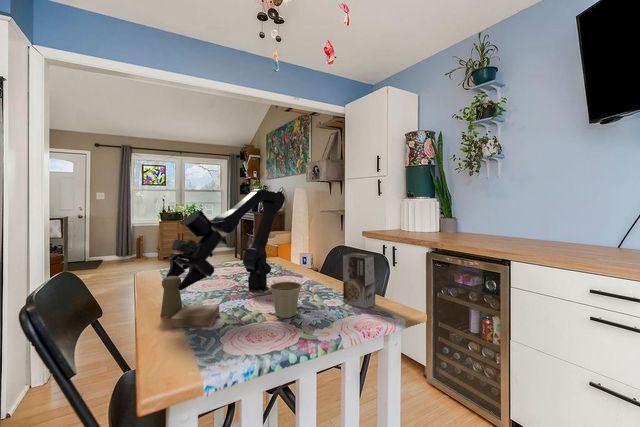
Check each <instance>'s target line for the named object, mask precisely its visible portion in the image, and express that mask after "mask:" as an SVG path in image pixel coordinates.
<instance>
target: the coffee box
mask: <svg viewBox="0 0 640 427" xmlns="http://www.w3.org/2000/svg"><path fill="white" fill-rule="evenodd" d="M342 262H343V263H342V269H343V270H342V276H343V277H342V283H343V284H342V285H343V286H342V288H343V290H342V295H343V298H342V300H343V301H342V302H343V303H345V304H347V305H352V306H355V307H359V308H362V309H367V308H369V307H371V306H374V305H376V255H374V254H365V253H358V252H351V253H348V254H343V255H342Z"/></svg>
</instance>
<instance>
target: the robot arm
mask: <svg viewBox="0 0 640 427" xmlns="http://www.w3.org/2000/svg"><path fill="white" fill-rule="evenodd" d="M285 200H286V196H285V195H284V193H283V192H282V191H279V190H278V191H277V190H275V191H270V190H265V189H263V188H256V189H252V190H251V191H250V193H248V194H247V195H246V196H245V197H243V199H241V200H240V201H239V202H237V203H236V205H234V206H233V207H232V208H231V209H229V210H227V211H224V212H221V213H220V214H218V215H216V216H215V217H213V219H209V218H208V217H207V216H206V215H205V213H204V212H203V210H196V211H195V212H193V213H192V214H190V215H188V216H186V218H184V220H183V222H182V225H183V226H184V227H185V228H186V229H187V230H188V231H189V232H190V233H191V234H192V235H193V236H194V237H196V238H199V237H200V238H199V240H198V241H197V242H196V240H192V239H187V240H186V241H185V240H181V239H174V241H173V243H172V245H171V248H170V249H171V250H173V251H178V252H172V253H170V255H169V256H168V258H167V259H168V262H169V265H170V266H169V270H168V272H167V274H166V276H165V278H166V277H169V276H178V277H180V276H181V275H183V274H184V273H185V272H186V270H187V269H188V272H187V273H186V275H185V277H184V278H183V279H182V280H181V284H180V286H179V287H178V289H179V290H180V291H183V290H185V289H186V288H188V287H191V285H194V284H195V283H198V282H200V281H202V280H203V279H207V278H208V277H212V275H213V274H214V273H215V266H213V265H212V264H211V263H210V262H209V261H208V260H207V259H208V258H209V257H210V258H212V257H213V256H214V253H213V252H214V251H215V249H216V248H218V246H219V245H220V244H222V245H227V244H228V242H227V236H226V235H222V234H224V233H225V234H230V233H233V232H234V230H236V228H237V227H238V225H239V224H240V221H241V219H242V218H243V217H244V216H245V215H247V213H249V211H251V210H252V209H253V208H254V207H255V206H256V205H258V203H260V202H262V209H263V211H262V215H261V218H260V221H259V224H258V227H257V231H256V235H255V238H254V241H253V244H252V245H251V246H250V247H248V248H247V247H246V248H245V250H244V254H243V255H242V257H241V258H242V264H243V267H245V271H246V272H247V273H249V275H248V277H247V279H248V280H247V281H248V282H247V286H248V287H247V288H248V291H267V289H268V285H269V284H268V274H270V273H271V272H272V266H271V265H270V264H269V263H268V262H267V257H268V255H267V250H266V248H267V244H268V241H269V238H270V235H271V231H272V228H273V226H274V221H275V218H276V215H277V214H278V213H279V211H280V210H281V209H282V208H283V206H284V203H285ZM221 233H222V234H221Z"/></svg>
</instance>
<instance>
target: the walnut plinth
mask: <svg viewBox="0 0 640 427" xmlns="http://www.w3.org/2000/svg"><path fill="white" fill-rule="evenodd" d="M219 314H220V304H193V305H191V304H190V305H189V304H188V305H184V306H182V309H180V310H179V311H178V312H177V313H176V314H175V315H174V316H172V317H170V318H171V320H170V321H171V322H170V323H171V324H170V326H171V327H170V328H173V329H175V328H199V327H201V328H203V327H205V328H206V327H211V326H212V325H213V323H214V322H215V320H216V319H217V317H218V315H219Z"/></svg>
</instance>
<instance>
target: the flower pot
mask: <svg viewBox="0 0 640 427" xmlns="http://www.w3.org/2000/svg"><path fill="white" fill-rule="evenodd" d="M301 288H302V284H301V283H300V282H295V281H281V282H275V283H272V284H270V285H269V289H270V290H271V292H270V293H272V300H273V306H274V311H275V313H274V314H275V316H276V317H279V318H281V319H288V318H292V317H293V316H294V317H295V316H296V315H297V312H298V304H299V297H300V296H299V295H300V292H301Z"/></svg>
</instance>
